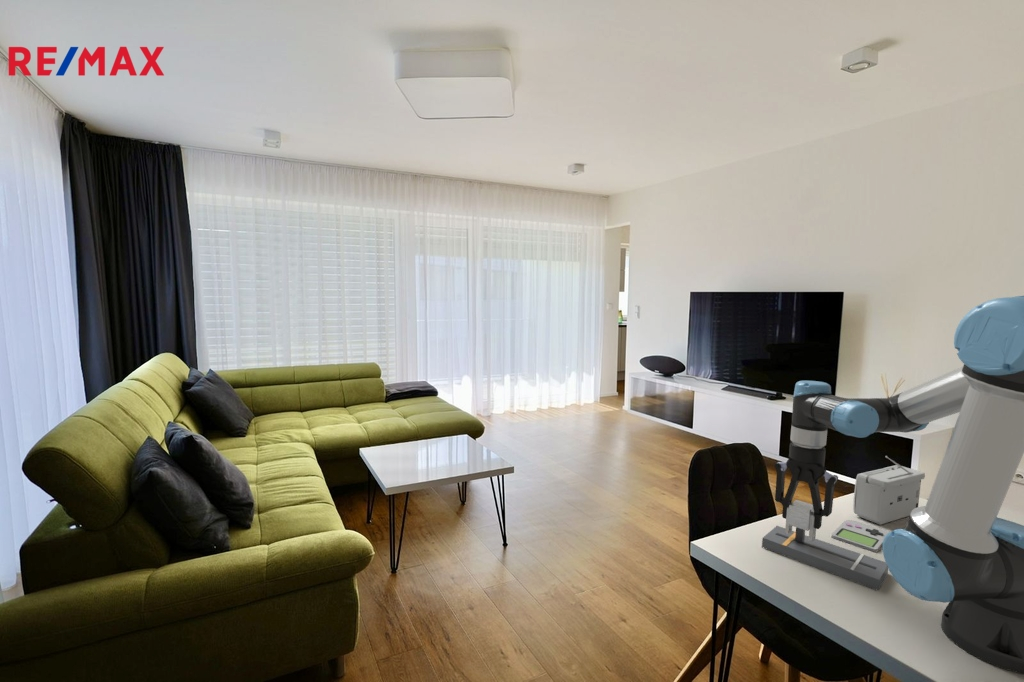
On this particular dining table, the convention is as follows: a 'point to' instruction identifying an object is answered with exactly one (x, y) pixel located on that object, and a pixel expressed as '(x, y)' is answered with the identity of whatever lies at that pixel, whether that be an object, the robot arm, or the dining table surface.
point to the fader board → (828, 557)
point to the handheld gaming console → (860, 535)
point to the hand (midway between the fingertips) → (800, 535)
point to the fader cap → (800, 518)
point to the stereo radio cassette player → (887, 493)
